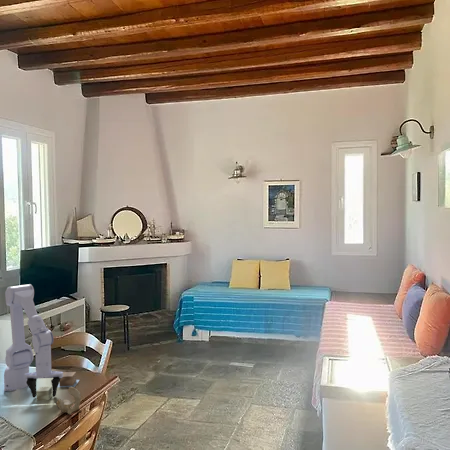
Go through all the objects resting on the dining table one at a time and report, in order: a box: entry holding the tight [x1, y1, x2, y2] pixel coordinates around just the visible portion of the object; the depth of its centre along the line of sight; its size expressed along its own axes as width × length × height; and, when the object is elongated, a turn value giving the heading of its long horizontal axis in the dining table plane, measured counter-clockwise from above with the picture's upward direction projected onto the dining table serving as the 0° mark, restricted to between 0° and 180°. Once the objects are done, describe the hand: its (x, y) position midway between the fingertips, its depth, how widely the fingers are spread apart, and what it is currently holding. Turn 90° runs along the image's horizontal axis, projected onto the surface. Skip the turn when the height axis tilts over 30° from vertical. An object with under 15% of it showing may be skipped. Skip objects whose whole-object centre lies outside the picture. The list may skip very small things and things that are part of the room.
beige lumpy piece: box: [56, 387, 82, 415], centre depth 168 cm, size 9×6×10 cm
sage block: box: [36, 385, 53, 402], centre depth 180 cm, size 4×4×4 cm
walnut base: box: [59, 371, 77, 386], centre depth 195 cm, size 6×6×4 cm
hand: (44, 396), depth 180 cm, fingers open, 7 cm apart
